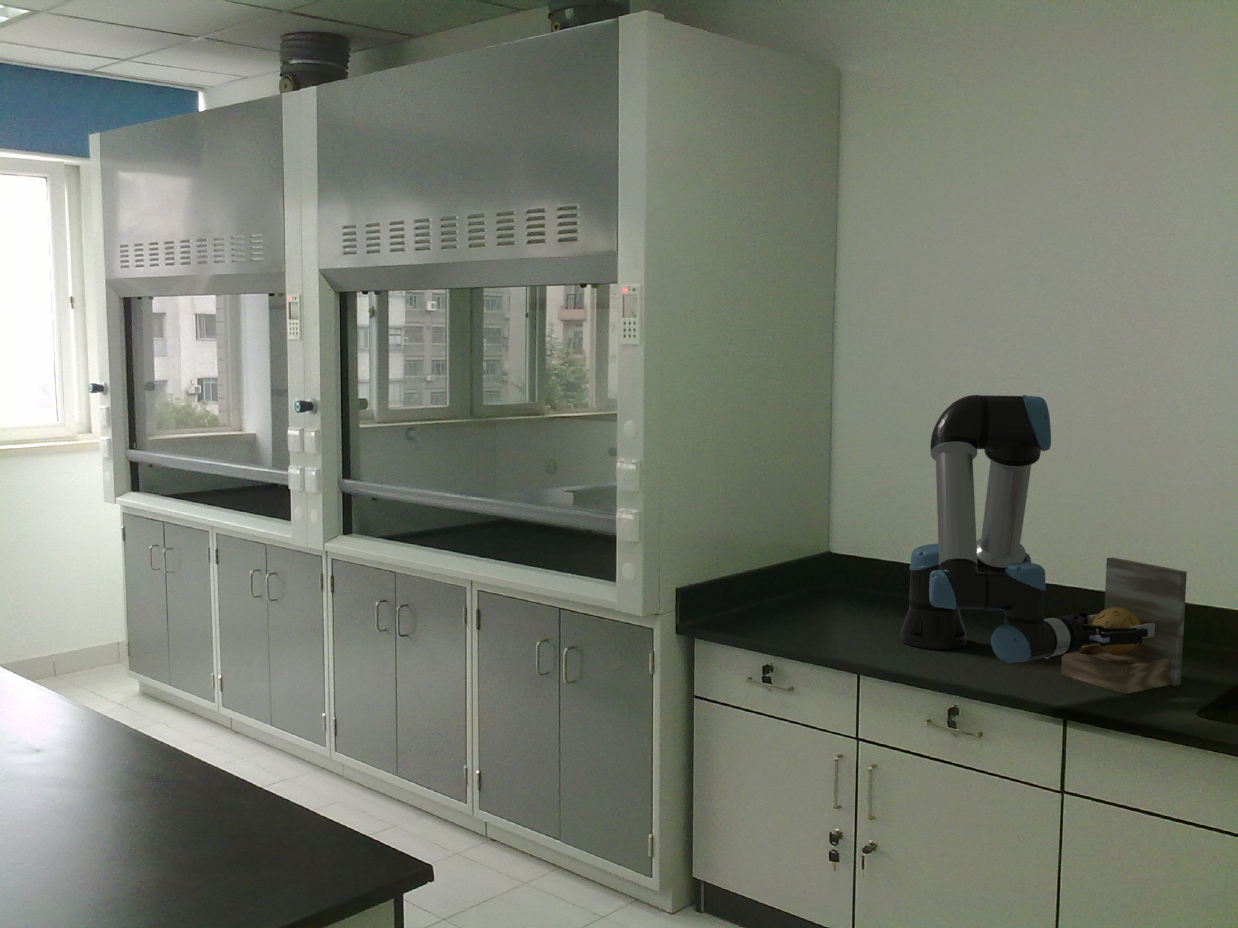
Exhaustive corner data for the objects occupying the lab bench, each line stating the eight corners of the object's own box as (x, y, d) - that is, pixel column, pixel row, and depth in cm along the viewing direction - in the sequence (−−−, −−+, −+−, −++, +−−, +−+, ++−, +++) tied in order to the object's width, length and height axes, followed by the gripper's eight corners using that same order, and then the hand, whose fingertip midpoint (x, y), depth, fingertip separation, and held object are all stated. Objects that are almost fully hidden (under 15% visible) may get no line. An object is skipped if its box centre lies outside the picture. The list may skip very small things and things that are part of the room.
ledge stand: (1129, 695, 234) (1134, 578, 232) (1057, 673, 250) (1062, 563, 247) (1180, 684, 242) (1186, 571, 239) (1107, 663, 257) (1112, 557, 255)
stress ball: (1114, 651, 251) (1078, 621, 251) (1149, 621, 247) (1112, 590, 247) (1120, 671, 241) (1083, 639, 242) (1156, 639, 238) (1119, 608, 238)
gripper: (1013, 641, 246) (1086, 629, 256) (1103, 667, 226) (1177, 653, 237) (1015, 606, 245) (1087, 596, 256) (1105, 630, 225) (1179, 617, 236)
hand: (1130, 624), depth 246 cm, fingers closed on stress ball, 10 cm apart
